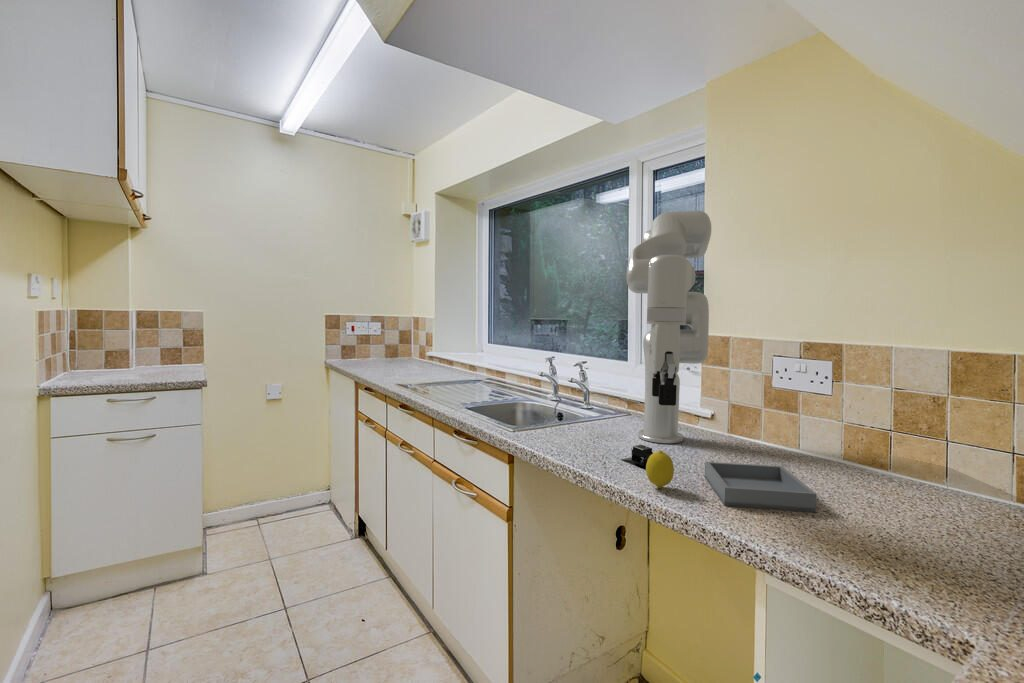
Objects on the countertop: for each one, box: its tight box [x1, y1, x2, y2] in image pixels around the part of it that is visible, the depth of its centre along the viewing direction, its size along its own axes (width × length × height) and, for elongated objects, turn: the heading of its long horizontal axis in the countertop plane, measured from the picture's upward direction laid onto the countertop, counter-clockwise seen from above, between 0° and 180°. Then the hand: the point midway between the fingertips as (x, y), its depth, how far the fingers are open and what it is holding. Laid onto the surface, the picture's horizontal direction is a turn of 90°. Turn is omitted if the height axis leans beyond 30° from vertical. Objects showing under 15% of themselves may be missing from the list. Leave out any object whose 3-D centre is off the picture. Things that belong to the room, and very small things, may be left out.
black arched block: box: [620, 444, 654, 471], centre depth 116 cm, size 12×7×5 cm, turn 29°
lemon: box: [645, 450, 675, 489], centre depth 100 cm, size 6×6×8 cm
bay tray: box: [704, 461, 817, 513], centre depth 98 cm, size 16×16×4 cm
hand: (663, 400), depth 99 cm, fingers open, 9 cm apart
